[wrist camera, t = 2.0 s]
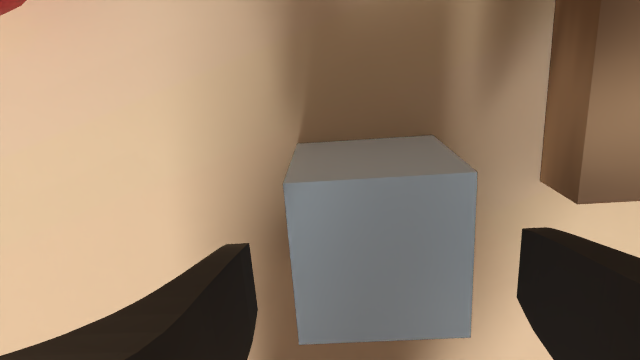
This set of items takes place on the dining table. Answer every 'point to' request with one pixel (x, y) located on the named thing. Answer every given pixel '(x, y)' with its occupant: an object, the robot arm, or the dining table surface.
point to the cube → (381, 240)
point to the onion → (9, 5)
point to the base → (594, 102)
